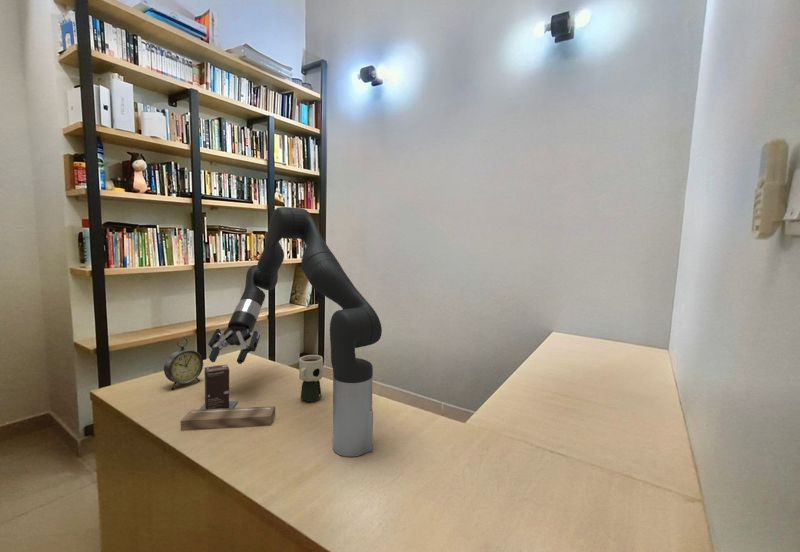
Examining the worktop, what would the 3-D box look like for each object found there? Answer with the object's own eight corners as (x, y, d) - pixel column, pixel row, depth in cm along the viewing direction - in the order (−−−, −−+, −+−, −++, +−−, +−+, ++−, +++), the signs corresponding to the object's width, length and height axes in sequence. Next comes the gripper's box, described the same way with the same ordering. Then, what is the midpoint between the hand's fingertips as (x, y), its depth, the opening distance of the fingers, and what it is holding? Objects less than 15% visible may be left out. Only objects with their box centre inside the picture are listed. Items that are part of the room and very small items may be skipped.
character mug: (312, 408, 105) (312, 364, 104) (290, 404, 107) (290, 362, 106) (329, 393, 115) (329, 354, 114) (310, 390, 117) (310, 352, 116)
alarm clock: (170, 392, 114) (169, 342, 113) (162, 388, 117) (160, 339, 116) (204, 381, 123) (203, 335, 122) (195, 378, 126) (194, 333, 125)
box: (206, 414, 99) (205, 371, 98) (204, 408, 102) (203, 367, 102) (230, 409, 102) (229, 368, 101) (228, 403, 106) (227, 363, 105)
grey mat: (237, 402, 108) (237, 400, 108) (228, 416, 99) (228, 414, 99) (205, 403, 106) (205, 402, 106) (193, 418, 98) (193, 416, 97)
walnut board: (275, 414, 100) (275, 405, 100) (271, 425, 95) (270, 415, 94) (190, 419, 97) (190, 409, 97) (180, 430, 91) (180, 420, 91)
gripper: (219, 308, 115) (196, 354, 104) (262, 310, 113) (243, 357, 103) (229, 321, 120) (208, 366, 110) (270, 323, 119) (252, 369, 108)
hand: (225, 361), depth 106 cm, fingers open, 8 cm apart
